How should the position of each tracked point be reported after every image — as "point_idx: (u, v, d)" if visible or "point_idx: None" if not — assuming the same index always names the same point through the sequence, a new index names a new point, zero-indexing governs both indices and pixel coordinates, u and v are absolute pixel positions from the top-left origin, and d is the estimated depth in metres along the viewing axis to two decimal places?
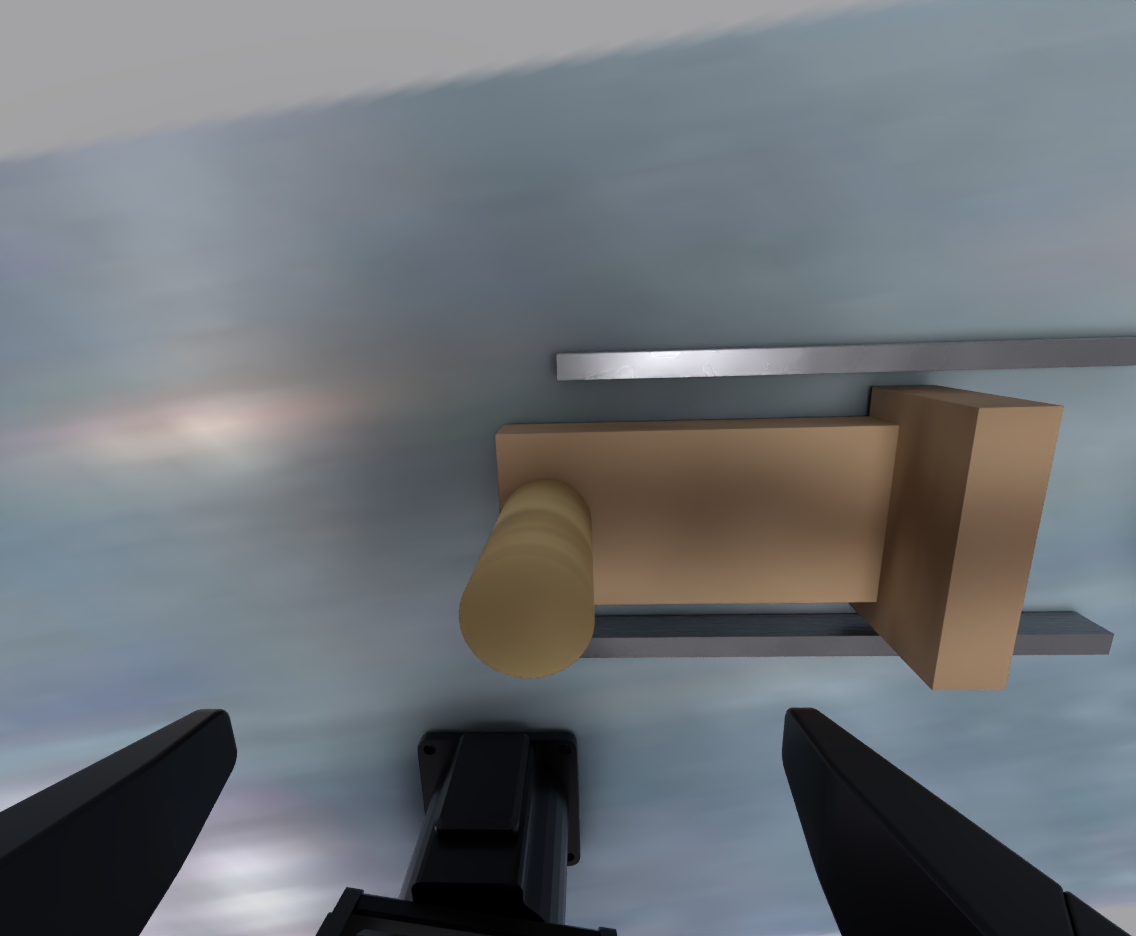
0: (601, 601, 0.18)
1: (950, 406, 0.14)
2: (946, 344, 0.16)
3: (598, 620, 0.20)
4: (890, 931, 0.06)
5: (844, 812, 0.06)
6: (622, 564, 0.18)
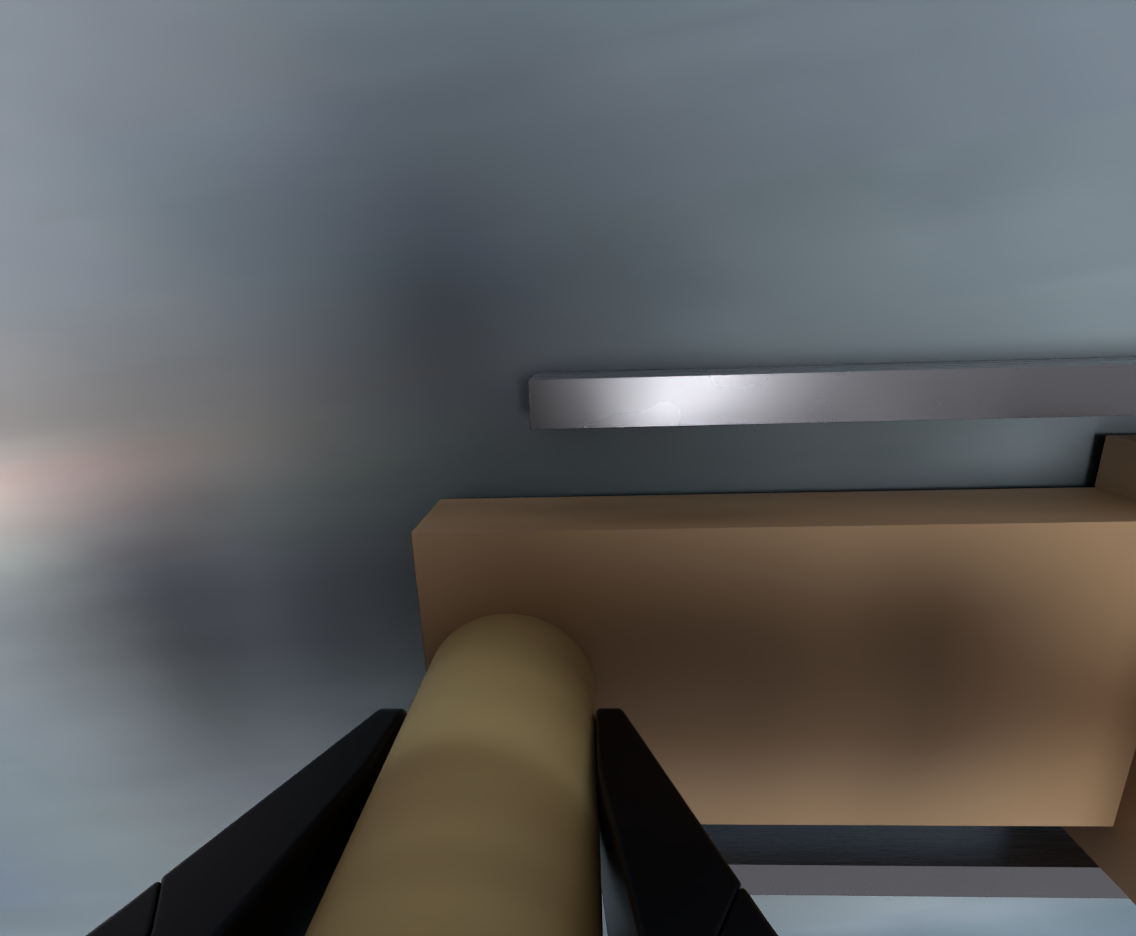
0: None
1: None
2: None
3: None
4: (617, 927, 0.06)
5: (602, 811, 0.07)
6: None
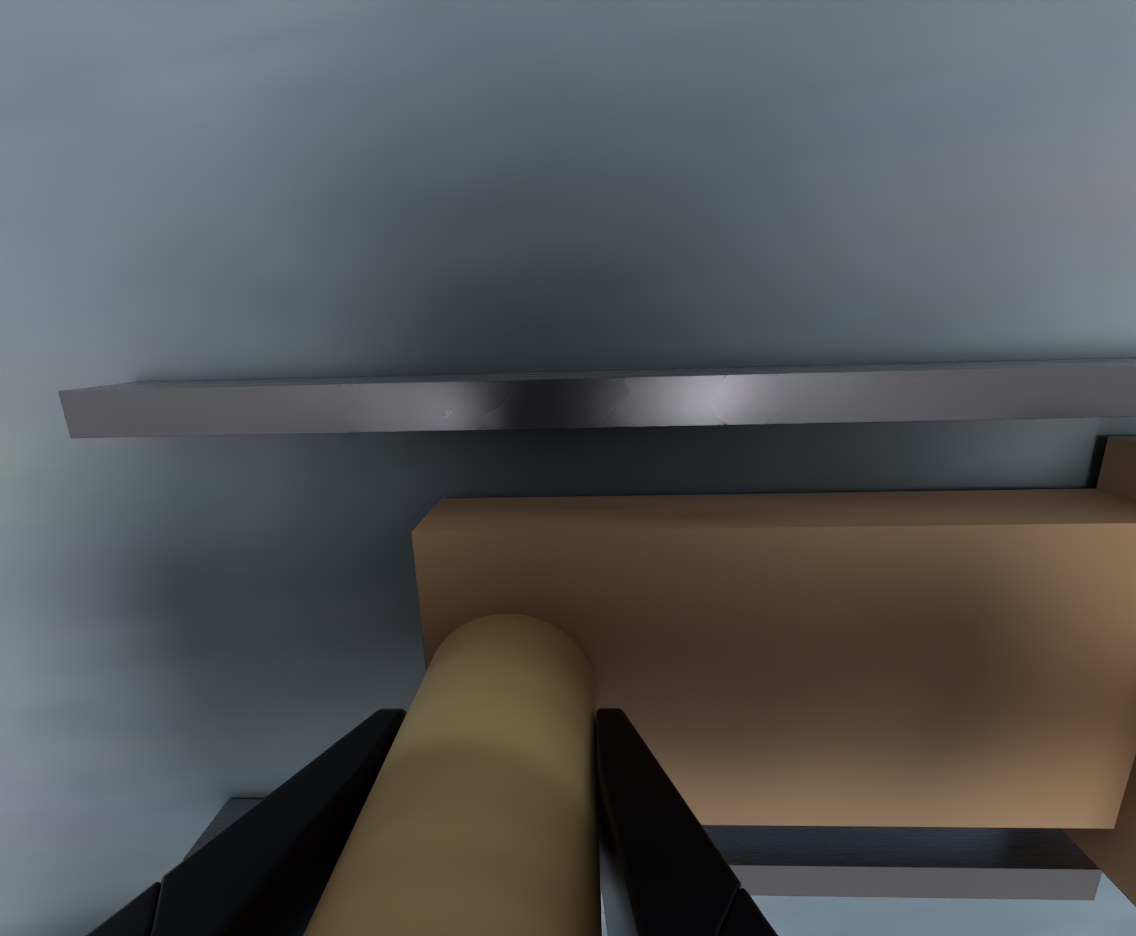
0: None
1: None
2: (780, 375, 0.08)
3: None
4: (617, 927, 0.06)
5: (602, 811, 0.07)
6: None
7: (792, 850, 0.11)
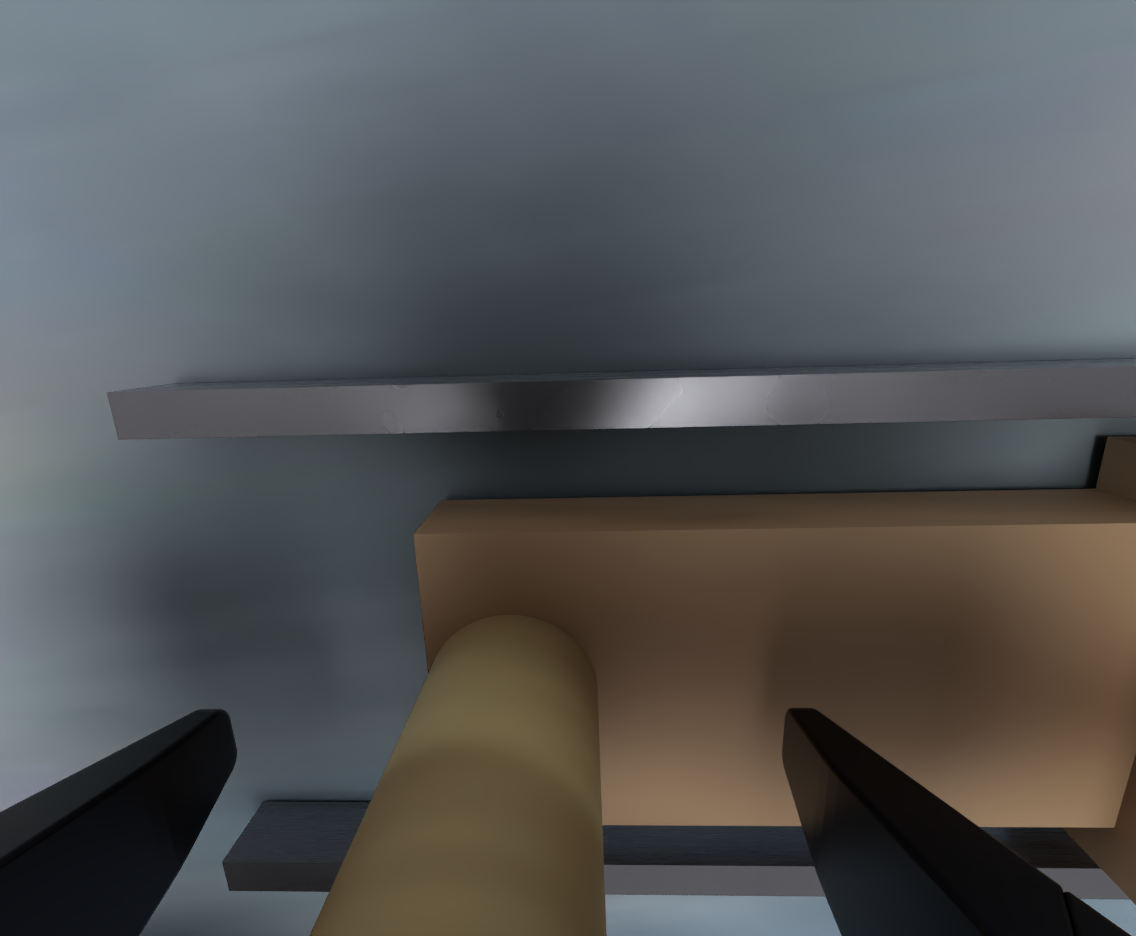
0: (614, 819, 0.10)
1: None
2: (834, 375, 0.08)
3: (305, 813, 0.12)
4: (890, 931, 0.06)
5: (844, 812, 0.06)
6: (653, 760, 0.10)
7: None
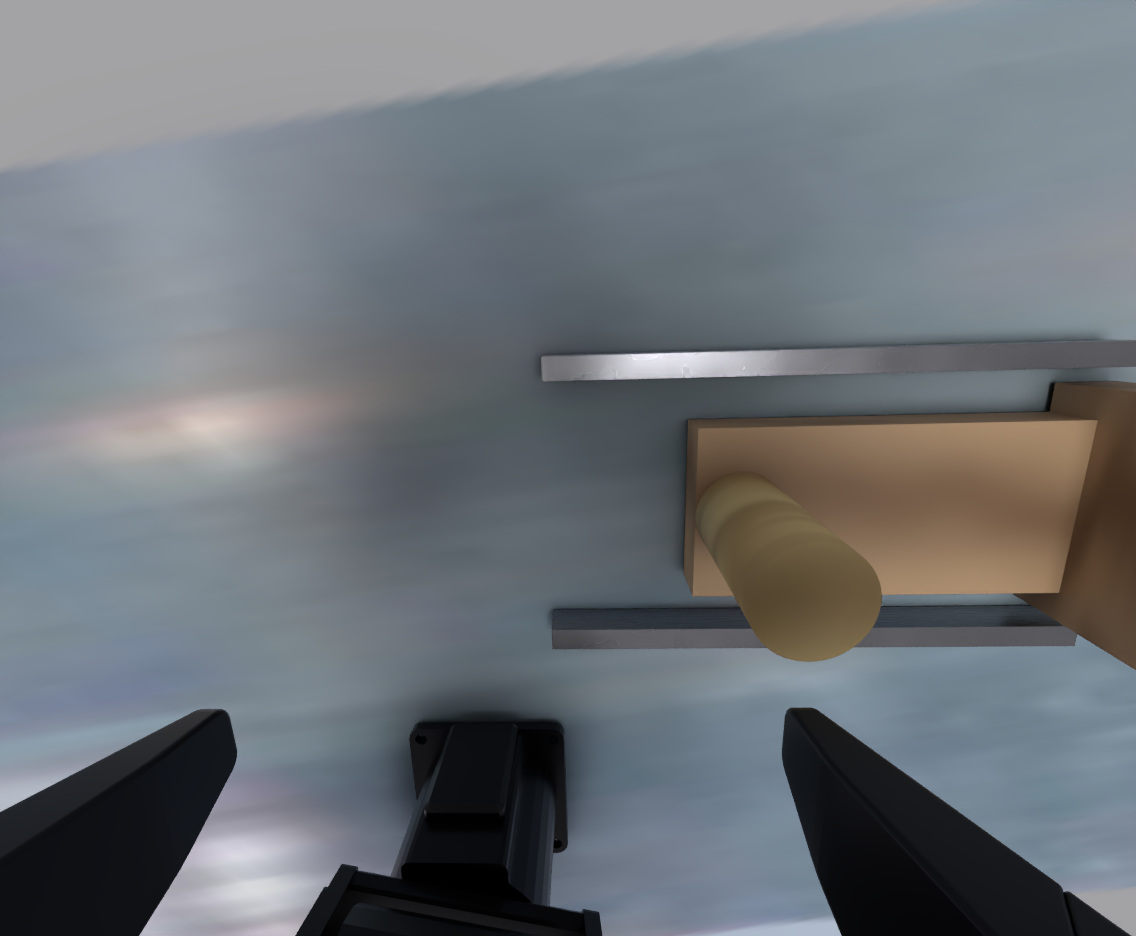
0: None
1: None
2: (914, 347, 0.17)
3: (584, 613, 0.21)
4: (890, 931, 0.06)
5: (844, 812, 0.06)
6: None
7: (903, 622, 0.20)
